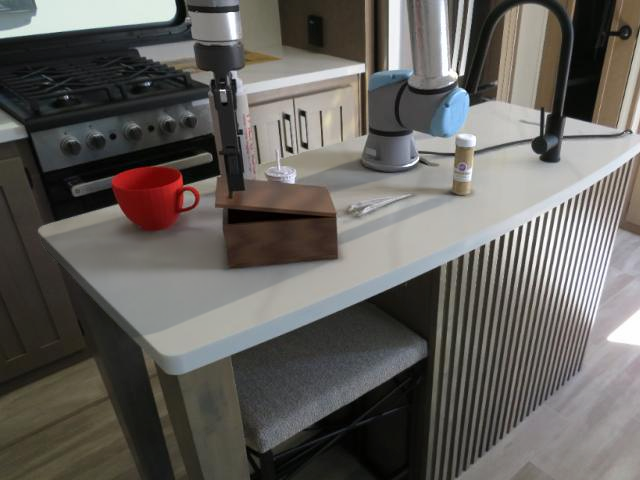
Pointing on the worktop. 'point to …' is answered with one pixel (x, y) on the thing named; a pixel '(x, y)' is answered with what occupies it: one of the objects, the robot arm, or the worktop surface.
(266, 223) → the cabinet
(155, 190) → the ceramic cup
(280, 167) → the smoothie
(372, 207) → the tweezers
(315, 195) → the wooden panel
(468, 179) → the sprinkles bottle
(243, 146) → the thermos bottle
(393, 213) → the worktop surface
